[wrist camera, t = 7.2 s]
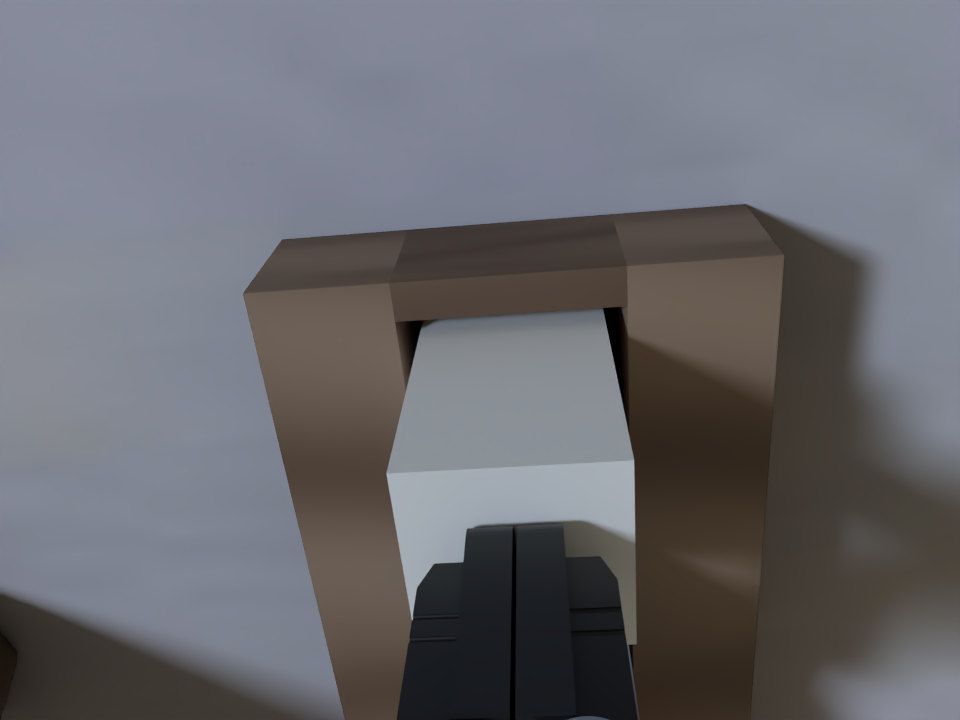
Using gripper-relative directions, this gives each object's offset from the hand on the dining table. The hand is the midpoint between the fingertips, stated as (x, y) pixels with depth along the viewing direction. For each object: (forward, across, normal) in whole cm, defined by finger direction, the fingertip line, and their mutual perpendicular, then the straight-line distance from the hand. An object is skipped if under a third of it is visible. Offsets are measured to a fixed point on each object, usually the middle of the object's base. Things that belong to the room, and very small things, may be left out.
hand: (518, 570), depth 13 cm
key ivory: (+6, 0, 0) cm, 6 cm away
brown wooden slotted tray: (+8, 0, +7) cm, 10 cm away
